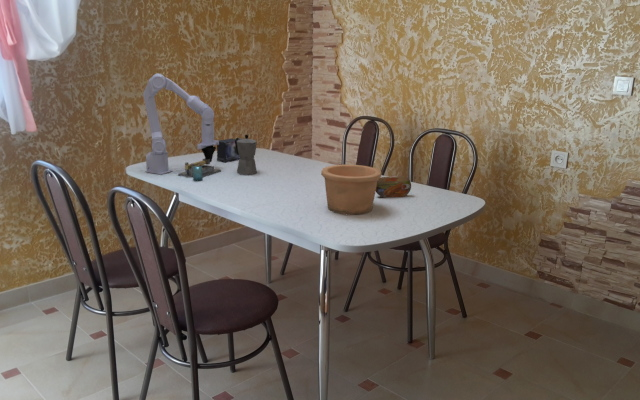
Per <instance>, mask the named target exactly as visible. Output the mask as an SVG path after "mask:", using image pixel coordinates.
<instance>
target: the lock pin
mask: <svg viewBox="0 0 640 400" xmlns="http://www.w3.org/2000/svg"><path fill="white" fill-rule="evenodd" d="M193 163H194V166H201V165H209V166H210V165H211V162H210V159H205V158H202V159H201V160H199V161H196V162H193ZM185 169H191V163H188V165H185V164H184V170H185Z"/></svg>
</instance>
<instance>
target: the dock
mask: <svg viewBox="0 0 640 400" xmlns="http://www.w3.org/2000/svg"><path fill="white" fill-rule="evenodd" d="M194 163H195V162H192V163H190V164H191V169H185V168H184V171H182V172H179V173H178V176H180V177H186V178H193V166H194ZM185 165H189V162H187V161H186V162H184V166H185ZM201 166H202V174H203V178H206V177H209V176H212V175H214V174H218V173H220V172H222V170H221V169H217V168H215V166H214V165H210V164H209V165H206V164H204V165H201Z"/></svg>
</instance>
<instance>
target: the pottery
mask: <svg viewBox="0 0 640 400" xmlns="http://www.w3.org/2000/svg"><path fill="white" fill-rule="evenodd" d="M320 172H321V176H322V177H323V179H324V186H325V194H326V195H325V196H326V203H327V208H328V210H329V211H331V212H333V213H336V214H340V215H346V214H347V215H346V216H348V215H349V216H357V215H364V214H365V215H366V214H368V213H371V212H372V210H373V205H374V200H375V195H376V186H377V181H378V179H380V178H381V177H382V171H381V170H380V169H378V168H375V167H372V166H368V165H361V164H335V165H329V166H325V167H323V168H322V170H321V171H320Z"/></svg>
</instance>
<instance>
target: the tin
mask: <svg viewBox="0 0 640 400" xmlns="http://www.w3.org/2000/svg"><path fill="white" fill-rule="evenodd" d="M411 190H412V183H411V180H410V179H409V178H408V177H406V176H403V175H398V176H397V175H396V176H392V175H391V176H381V178H380V179H378V181H377V186H376V191H375V194H377V195H378V196H379V197H381V198H384V199H387V198H388V199H389V198H390V199H391V198H403V197H406V196H407V195H408V194H409V193H410V191H411Z"/></svg>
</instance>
